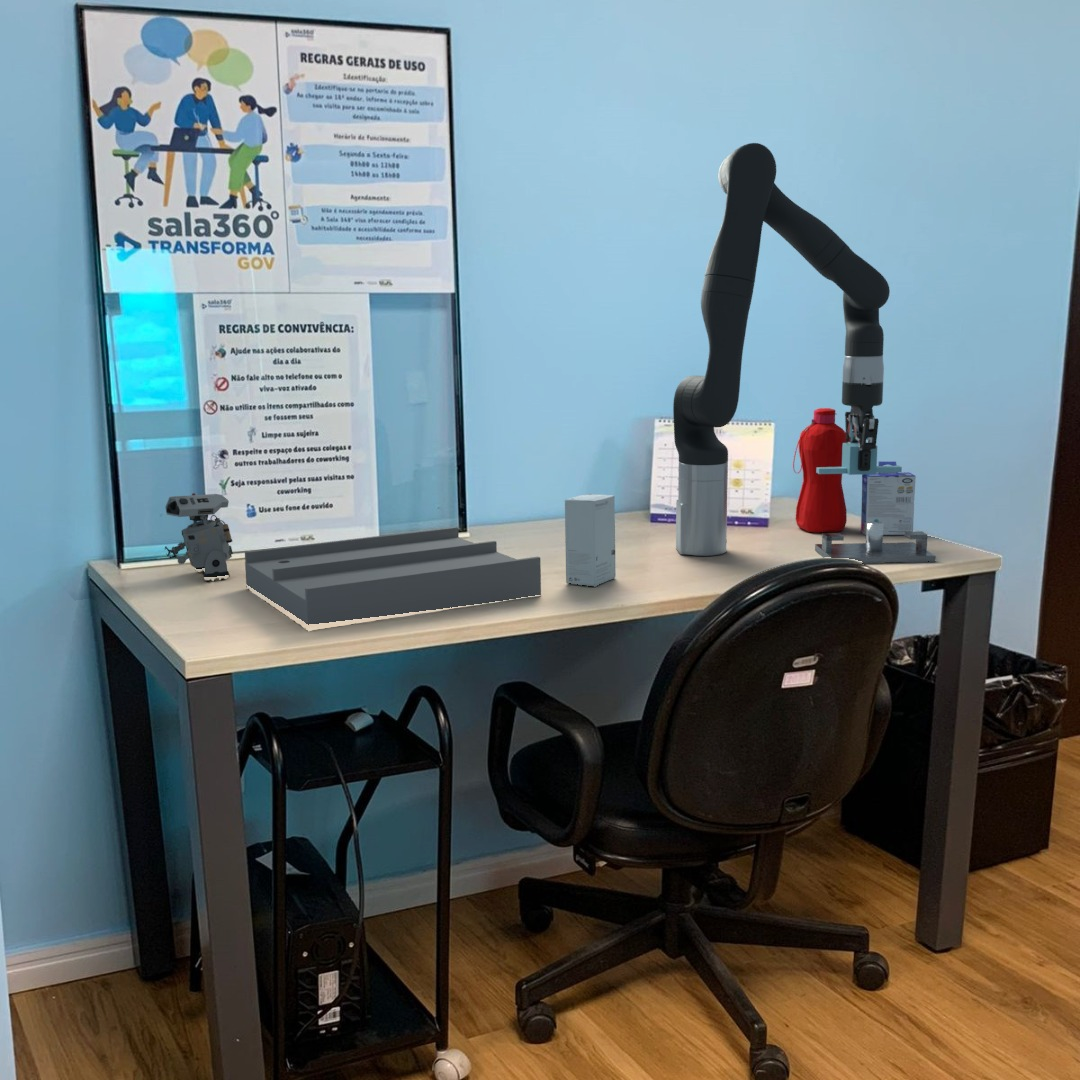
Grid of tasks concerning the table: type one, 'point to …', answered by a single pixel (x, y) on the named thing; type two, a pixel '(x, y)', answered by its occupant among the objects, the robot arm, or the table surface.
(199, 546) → the figurine
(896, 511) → the ink cartridge box
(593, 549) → the skincare box
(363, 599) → the desk organizer
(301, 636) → the table surface
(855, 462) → the light blue skewered cube
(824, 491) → the water bottle
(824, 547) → the mount
